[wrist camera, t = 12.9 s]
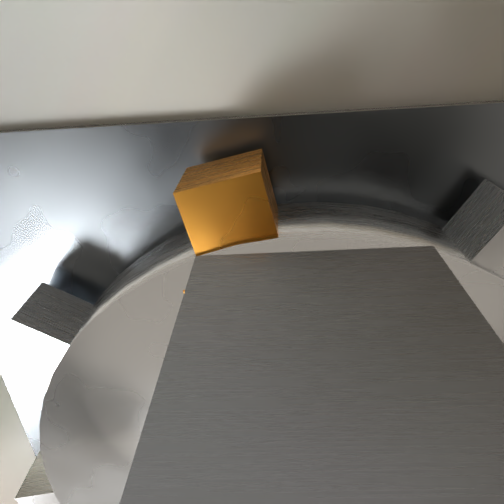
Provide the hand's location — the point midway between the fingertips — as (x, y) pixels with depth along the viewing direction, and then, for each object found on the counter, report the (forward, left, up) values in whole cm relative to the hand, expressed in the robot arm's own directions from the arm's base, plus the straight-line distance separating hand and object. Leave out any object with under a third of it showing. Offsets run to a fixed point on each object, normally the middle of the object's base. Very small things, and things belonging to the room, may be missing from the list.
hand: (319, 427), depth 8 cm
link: (0, 0, -1) cm, 1 cm away
